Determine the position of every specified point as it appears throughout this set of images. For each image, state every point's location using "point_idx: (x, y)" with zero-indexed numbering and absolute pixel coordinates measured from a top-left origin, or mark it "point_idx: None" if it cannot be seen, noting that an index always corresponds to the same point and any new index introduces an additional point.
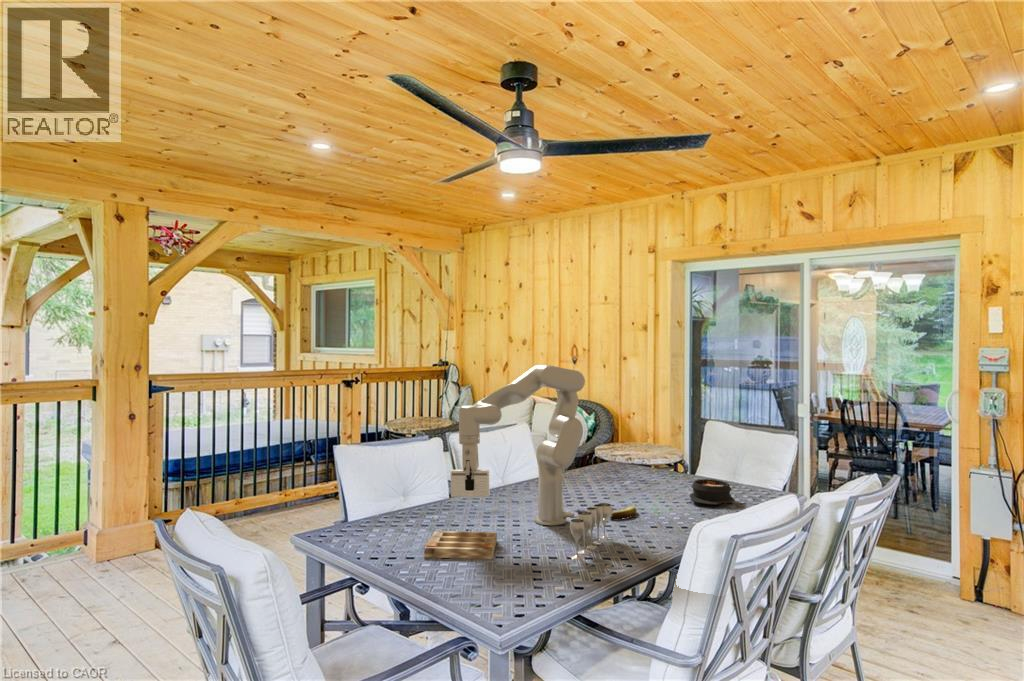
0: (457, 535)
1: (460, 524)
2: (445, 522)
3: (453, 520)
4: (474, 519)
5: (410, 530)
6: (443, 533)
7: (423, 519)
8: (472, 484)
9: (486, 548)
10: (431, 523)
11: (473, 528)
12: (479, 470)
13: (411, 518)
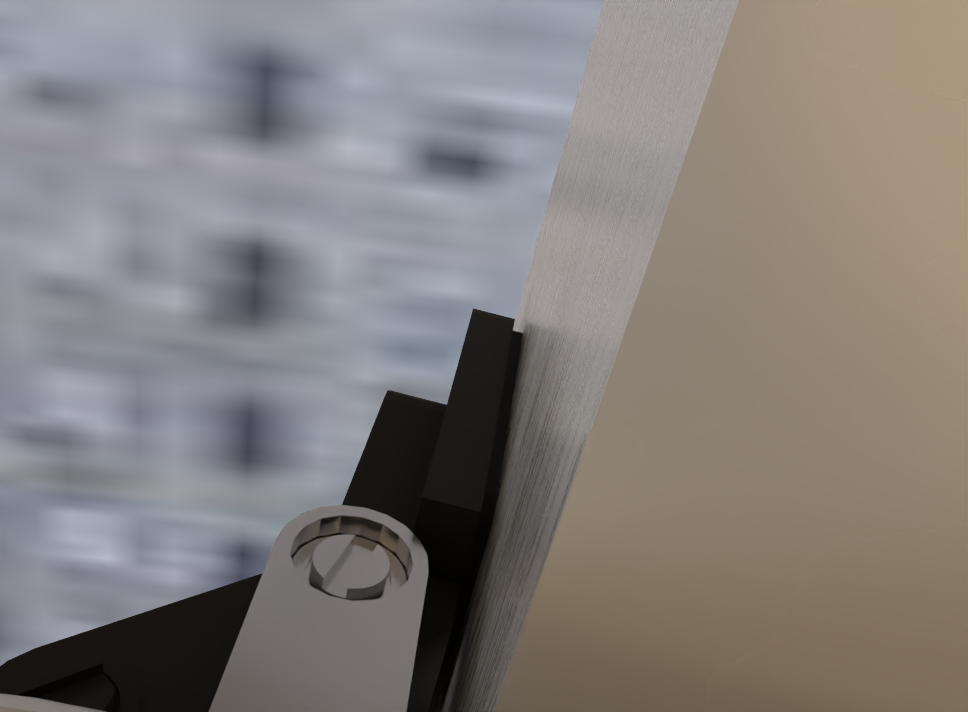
0: None
1: (229, 219)
2: (148, 374)
3: (67, 281)
4: (6, 8)
5: None
6: None
7: (47, 561)
8: None
9: None
10: (184, 508)
11: (411, 74)
12: (885, 673)
13: (22, 649)
